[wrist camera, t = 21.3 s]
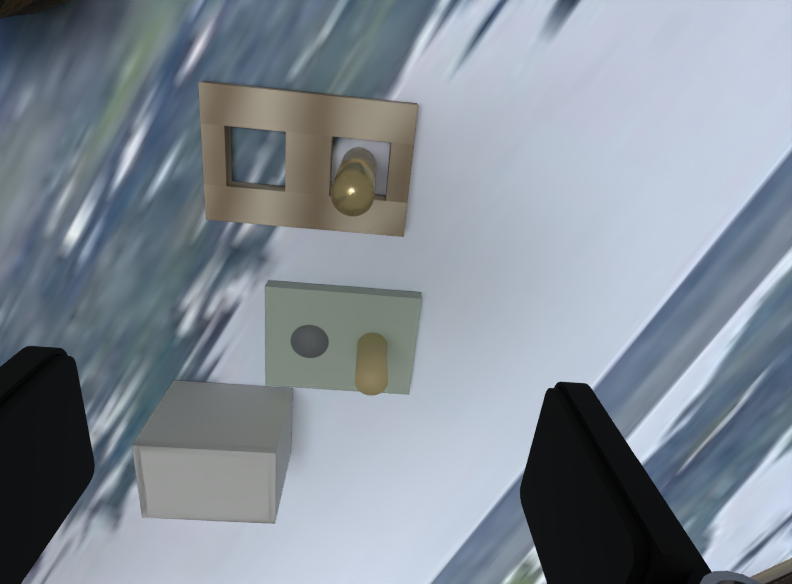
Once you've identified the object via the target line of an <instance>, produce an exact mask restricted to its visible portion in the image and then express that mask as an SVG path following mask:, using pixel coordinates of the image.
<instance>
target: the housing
mask: <svg viewBox="0 0 792 584" xmlns="http://www.w3.org/2000/svg"><path fill="white" fill-rule="evenodd" d="M292 396H293V388H282V387H267V386H251V385H236V384H221V383H206V382H191V381H176V380H174V381H173V382H172V384H171V385H170V387H169V389H168V390H167V392H166V393H165V395H164V396H163V398H162V399H161V401H160V403H159V404H158V406H157V407H156V409H155V410H154V412H153V414H152V415H151V417H150V418H149V420H148V421H147V423H146V424H145V426H144V428H143V429H142V431H141V432H140V434H139V435H138V437H137V439H136V440H135V442H134V443H133V445H132V448H133V456H134V463H135V470H136V477H137V484H138V491H139V498H140V506H141V513H142V517H143V518H164V519H186V520H207V521H229V522H250V523H272V524H275V522H276V517H277V513H278V508H279V504H280V499H281V495H282V490H283V486H284V481H285V477H286V472H287V468H288V463H289V459H290V454H291V437H292Z"/></svg>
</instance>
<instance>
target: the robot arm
mask: <svg viewBox="0 0 792 584" xmlns="http://www.w3.org/2000/svg"><path fill="white" fill-rule="evenodd" d="M94 467H95V464H94V457H93V452H92V447H91V441H90V436H89V431H88V425H87V420H86V414H85V409H84V404H83V398H82V393H81V387H80V382H79V377H78V371H77V366H76V362H75V360H74V358H73V357H71V356H67V353H66V352H65V350H64V349H61V348H53V347H38V346H27V347H25V348H23V349H22V350H21V351H19V352H18V353H17V354H16V355H14V356H13V357H12V358H11V359H9V360H8V361H7V362H6V363H4V364H3V365H2V366H1V367H0V584H21V583H22V581H23V580H24V578H25V577H26V575H27V574H28V572H29V571H30V570H31V568H32V567H33V565H34V564H35V562H36V561H37V559H38V558H39V556H40V555H41V553H42V552H43V551H44V549H45V548H46V546H47V545H48V543H49V542H50V540H51V539H52V537H53V536H54V534H55V533H56V532H57V530H58V529H59V527H60V526H61V524H62V523H63V521H64V520H65V518H66V517H67V515H68V514H69V513H70V511H71V510H72V508H73V507H74V505H75V504H76V502H77V501H78V499H79V498H80V496H81V495H82V494H83V492H84V491H85V489H86V488H87V486H88V485H89V483H90V481H91V479H92V477H93V473H94ZM520 498H521V504H522V507H523V510H524V514H525V517H526V520H527V523H528V526H529V529H530V532H531V535H532V538H533V541H534V544H535V547H536V550H537V553H538V557H539V560H540V563H541V566H542V569H543V572H544V575H545V578H546V581H547V584H762V583H761V582H759V581H756V580H754V579H752V578H750V577H747V576H745V575H743V574H739V573H734V572H730V571H714V572H711V570H710V569H709V567H708V565H707V564H706V562H705V561H704V559H703V558H702V556H701V555H700V553H699V552H698V550H697V549H696V547H695V546H694V544H693V543H692V541H691V540H690V538H689V536H688V535H687V533H686V532H685V530H684V529H683V527H682V526H681V524H680V523H679V521H678V520H677V518H676V517H675V515H674V514H673V512H672V511H671V509H670V507H669V506H668V504H667V503H666V501H665V500H664V498H663V497H662V495H661V494H660V492H659V491H658V489H657V488H656V486H655V485H654V483H653V482H652V480H651V478H650V477H649V475H648V474H647V472H646V471H645V469H644V468H643V466H642V465H641V463H640V462H639V460H638V459H637V458H636V456H635V455H634V453H633V452H632V450H631V448H630V447H629V445H628V444H627V442H626V441H625V439H624V438H623V436H622V435H621V433H620V432H619V430H618V429H617V427H616V426H615V424H614V422H613V421H612V419H611V418H610V416H609V415H608V413H607V412H606V410H605V409H604V407H603V406H602V404H601V403H600V401H599V400H598V398H597V396H596V395H595V393H594V392H593V390H592V389H591V387H590V386H589V385H588V384H585V383H572V382H558V383H557V384H556V385H555V387H554V388H549V389H548V390H547V391H546V394H545V397H544V401H543V405H542V408H541V412H540V416H539V419H538V423H537V427H536V431H535V434H534V438H533V442H532V445H531V449H530V453H529V457H528V460H527V464H526V468H525V472H524V475H523V479H522V483H521V487H520Z"/></svg>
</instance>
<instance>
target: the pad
mask: <svg viewBox="0 0 792 584" xmlns="http://www.w3.org/2000/svg"><path fill="white" fill-rule="evenodd" d="M421 303H422V296H421V292H410V291H397V290H385V289H372V288H359V287H347V286H334V285H321V284H308V283H296V282H283V281H270V280H268V282H267V284H266V286H265V371H266V385H267V386H283V387H299V388H314V389H330V390H345V391H360V392H361V393H363V394H366V395H377V394H380V393H392V394H408V395H409V391H410V384H411V377H412V369H413V362H414V354H415V347H416V340H417V332H418V325H419V317H420V310H421Z"/></svg>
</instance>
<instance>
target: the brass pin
mask: <svg viewBox="0 0 792 584" xmlns="http://www.w3.org/2000/svg"><path fill="white" fill-rule="evenodd" d="M375 169H376V163H375V159H374V157H373V155H372V154H371V153H370V152H369V151H368V150H366V149H364V148H359V147H357V148H353V149H350V150H349V151H348V152H347V153H346V154H345V155H344V157H343V159H342V162H341V164H340V167H339V170H338V172H337V175H336V177H335V180H334V183H333V185H332V188H331V201H332V203H333V205H334V207H335V208H336V209H337V210H338V211H339V212H340V213H342V214H344V215H347V216H359V215H362V214H364V213H365V212H367V211H368V210H369V209H370V208H371V206H372V204H373V201H374V191H375Z"/></svg>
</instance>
